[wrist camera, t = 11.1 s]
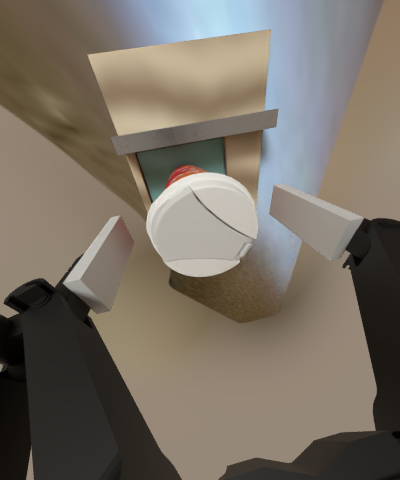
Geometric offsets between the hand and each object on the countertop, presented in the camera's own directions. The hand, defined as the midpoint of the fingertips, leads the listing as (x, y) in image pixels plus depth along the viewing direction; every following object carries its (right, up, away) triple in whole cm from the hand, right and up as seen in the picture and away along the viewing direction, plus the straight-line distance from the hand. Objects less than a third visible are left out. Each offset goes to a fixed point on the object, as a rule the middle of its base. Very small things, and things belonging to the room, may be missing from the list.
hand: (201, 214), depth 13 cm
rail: (-1, +11, +5) cm, 12 cm away
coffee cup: (-2, +6, +10) cm, 12 cm away
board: (-1, +9, +8) cm, 12 cm away
